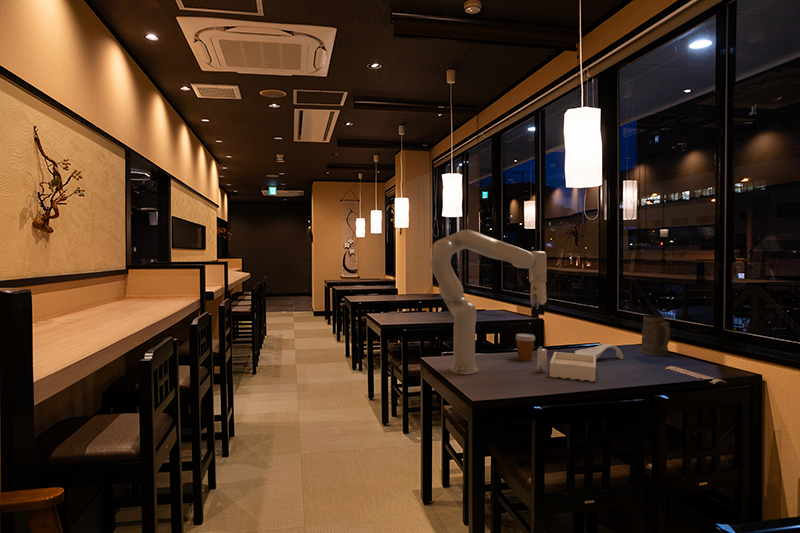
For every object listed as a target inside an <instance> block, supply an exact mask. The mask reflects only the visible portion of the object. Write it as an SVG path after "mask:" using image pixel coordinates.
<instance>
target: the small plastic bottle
mask: <svg viewBox="0 0 800 533" xmlns="http://www.w3.org/2000/svg"><path fill="white" fill-rule="evenodd" d="M536 353H537V354H536V356H537V358H536V360H537V361H536V364H537V365H536V371H538V373H540V372H546V373H547V364H548V363H547V362H548V359H547V358H548V357H547V356H548V349H546V348H543V347H539V348H537V350H536Z"/></svg>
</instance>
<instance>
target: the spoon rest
mask: <svg viewBox="0 0 800 533" xmlns="http://www.w3.org/2000/svg"><path fill="white" fill-rule="evenodd" d="M610 348H611V349H614V350H615V353H616V354H615V357H616V358H617V357H618V359H620V360H623V359H624V355H623V353H622V352H623V351H621V349H620V348H619V347H617V346H616V345H613V344H609V343H605V344H600V345H596V346H593V347H588V348H582V349H577V350H575V351H574V354H584V355H595V356H596V360H597V359H598V358H599V357H600V356H601V355H602V354H603V353H604V352H605V351H606V350H607V349H610Z"/></svg>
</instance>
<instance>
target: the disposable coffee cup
mask: <svg viewBox="0 0 800 533" xmlns="http://www.w3.org/2000/svg"><path fill="white" fill-rule="evenodd" d="M515 340H516V347H517V348H516V349H517V350H516V351H517V358H518V360H519V361H521V362H522V361H523V362H530V361H532V359H533V354H534V346H535V341H536V336H535V335H534V334H531V333H516V335H515Z"/></svg>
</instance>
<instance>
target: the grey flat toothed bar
mask: <svg viewBox="0 0 800 533" xmlns="http://www.w3.org/2000/svg"><path fill="white" fill-rule="evenodd" d="M667 369H670V370H673V371H672V372H674V371H677V372H680V373H683V374H682V375H684V374H687V375H690V376H693V377H692V378H694V377H696V378H695V379H697V378H703V379H713V380H712V381H710V382H709V383H711V384H714V385H715V384H716V383H718V382H721V383H725V384H726V383H727V381H725V380H722V379H719V378H716V379H714V378H715V377H711V376H709V375H705V374H701V373H699V372H695V371H691V370H688V369H683V368H680V367H677V366H675V365H674V366H673V365H671V366H670V365H669V366H666V367H665V370H667ZM670 370H669V371H670ZM677 372H676V373H677ZM680 373H679V374H680ZM687 375H686V376H687ZM690 376H689V377H690Z"/></svg>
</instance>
